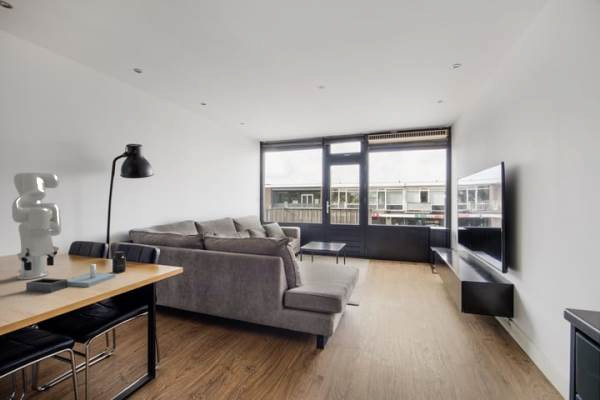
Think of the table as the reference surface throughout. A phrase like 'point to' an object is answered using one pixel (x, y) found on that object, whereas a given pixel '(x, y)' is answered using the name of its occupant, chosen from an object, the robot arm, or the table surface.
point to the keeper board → (90, 278)
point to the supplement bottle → (119, 262)
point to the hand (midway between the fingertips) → (39, 267)
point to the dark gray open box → (46, 285)
